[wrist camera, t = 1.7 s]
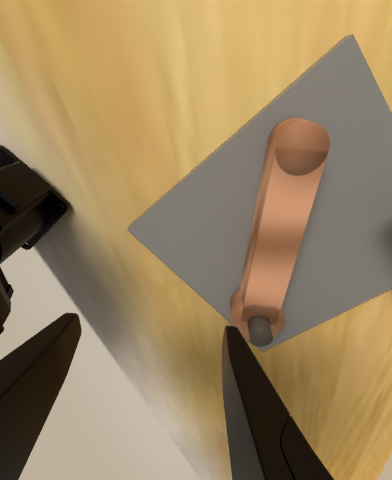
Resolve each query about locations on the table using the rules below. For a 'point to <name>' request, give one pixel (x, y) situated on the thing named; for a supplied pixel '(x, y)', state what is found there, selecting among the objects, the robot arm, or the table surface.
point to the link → (278, 226)
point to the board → (322, 212)
